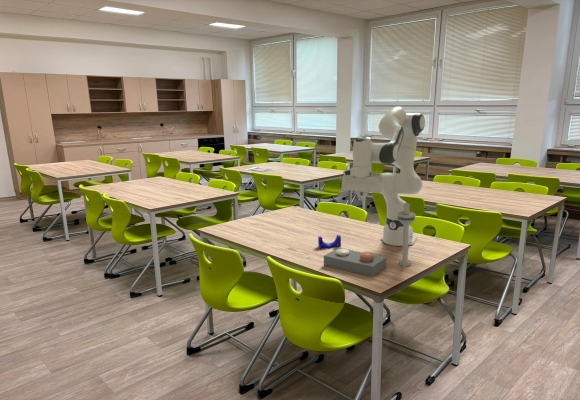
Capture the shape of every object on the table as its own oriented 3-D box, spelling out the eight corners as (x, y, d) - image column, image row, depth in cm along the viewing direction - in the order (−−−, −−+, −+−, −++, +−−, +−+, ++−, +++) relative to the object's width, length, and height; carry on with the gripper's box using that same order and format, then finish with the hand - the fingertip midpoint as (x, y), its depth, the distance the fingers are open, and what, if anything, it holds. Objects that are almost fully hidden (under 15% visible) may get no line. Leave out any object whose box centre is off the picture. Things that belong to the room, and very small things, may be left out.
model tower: (417, 266, 195) (419, 204, 189) (402, 268, 193) (404, 206, 186) (407, 260, 203) (408, 201, 197) (392, 263, 200) (393, 202, 194)
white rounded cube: (340, 259, 206) (340, 248, 205) (351, 262, 202) (351, 250, 201) (333, 263, 201) (333, 251, 200) (345, 266, 197) (345, 254, 196)
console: (338, 257, 211) (338, 247, 210) (386, 267, 195) (386, 257, 194) (323, 265, 200) (323, 255, 199) (372, 277, 184) (372, 266, 183)
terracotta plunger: (363, 262, 198) (364, 251, 197) (376, 265, 194) (376, 253, 193) (357, 267, 193) (357, 254, 192) (370, 269, 189) (370, 257, 188)
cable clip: (320, 249, 224) (320, 238, 223) (318, 246, 228) (318, 236, 227) (341, 247, 226) (341, 237, 224) (339, 245, 230) (339, 234, 229)
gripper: (385, 172, 190) (385, 201, 193) (346, 169, 202) (346, 197, 205) (379, 174, 185) (379, 204, 188) (340, 171, 197) (340, 199, 200)
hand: (361, 200), depth 196 cm, fingers closed
